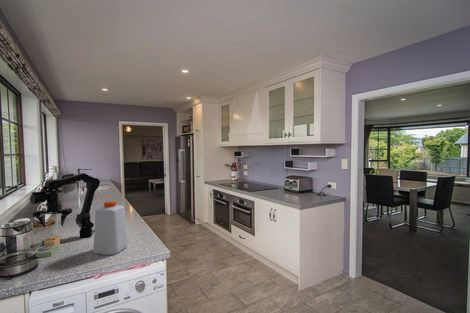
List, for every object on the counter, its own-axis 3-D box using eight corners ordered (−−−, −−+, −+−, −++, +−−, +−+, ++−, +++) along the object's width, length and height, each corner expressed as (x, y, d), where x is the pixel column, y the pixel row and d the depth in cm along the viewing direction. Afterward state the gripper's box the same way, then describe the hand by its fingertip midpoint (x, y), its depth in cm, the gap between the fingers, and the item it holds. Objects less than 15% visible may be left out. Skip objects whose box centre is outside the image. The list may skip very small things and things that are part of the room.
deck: (66, 242, 160) (65, 237, 160) (51, 256, 139) (51, 250, 139) (42, 244, 156) (41, 239, 156) (23, 258, 136) (23, 253, 136)
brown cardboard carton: (60, 244, 157) (59, 234, 156) (54, 249, 149) (54, 239, 149) (50, 245, 155) (50, 235, 155) (44, 250, 148) (44, 240, 147)
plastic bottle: (114, 256, 138) (113, 205, 137) (90, 254, 141) (88, 204, 140) (130, 245, 153) (129, 199, 152) (108, 244, 156) (107, 199, 155)
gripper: (74, 197, 163) (75, 221, 164) (40, 199, 158) (41, 224, 159) (68, 200, 152) (69, 226, 153) (31, 203, 147) (32, 229, 148)
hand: (53, 226), depth 153 cm, fingers open, 9 cm apart
